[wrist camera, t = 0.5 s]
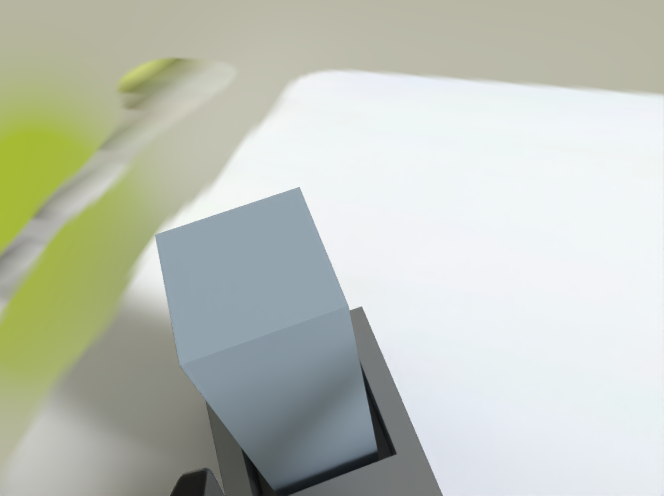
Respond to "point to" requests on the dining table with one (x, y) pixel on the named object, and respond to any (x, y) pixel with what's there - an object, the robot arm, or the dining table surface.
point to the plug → (270, 339)
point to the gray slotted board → (389, 429)
